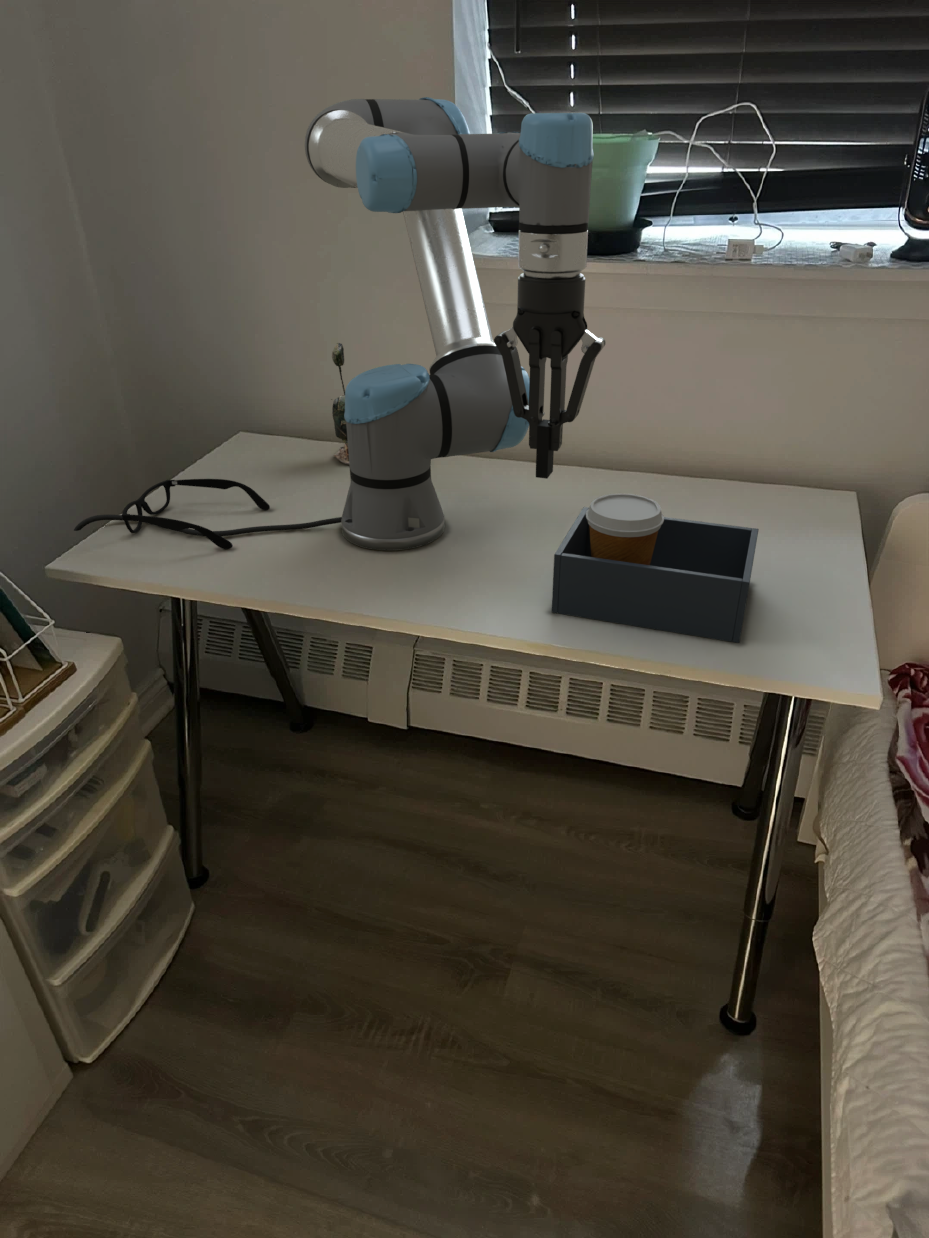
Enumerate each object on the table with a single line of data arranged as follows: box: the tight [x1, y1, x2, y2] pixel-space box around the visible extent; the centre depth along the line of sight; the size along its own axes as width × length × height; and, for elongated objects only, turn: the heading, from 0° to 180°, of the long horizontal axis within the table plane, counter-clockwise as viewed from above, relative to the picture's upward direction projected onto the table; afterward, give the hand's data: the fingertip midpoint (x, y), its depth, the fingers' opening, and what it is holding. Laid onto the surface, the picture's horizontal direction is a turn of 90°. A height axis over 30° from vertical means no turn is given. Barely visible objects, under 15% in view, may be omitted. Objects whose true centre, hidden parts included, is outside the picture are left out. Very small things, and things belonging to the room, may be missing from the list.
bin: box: [551, 506, 759, 644], centre depth 111 cm, size 23×16×8 cm
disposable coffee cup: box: [586, 492, 665, 565], centre depth 111 cm, size 10×10×12 cm
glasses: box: [121, 478, 271, 550], centre depth 133 cm, size 17×18×5 cm
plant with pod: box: [330, 342, 350, 466], centre depth 154 cm, size 8×11×20 cm
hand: (544, 474), depth 110 cm, fingers closed
